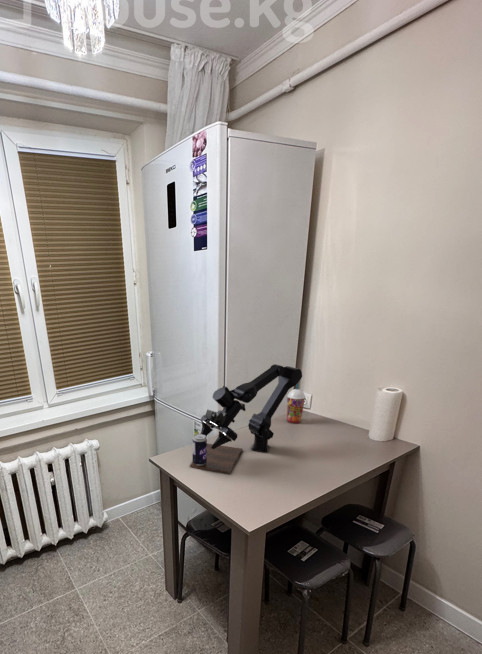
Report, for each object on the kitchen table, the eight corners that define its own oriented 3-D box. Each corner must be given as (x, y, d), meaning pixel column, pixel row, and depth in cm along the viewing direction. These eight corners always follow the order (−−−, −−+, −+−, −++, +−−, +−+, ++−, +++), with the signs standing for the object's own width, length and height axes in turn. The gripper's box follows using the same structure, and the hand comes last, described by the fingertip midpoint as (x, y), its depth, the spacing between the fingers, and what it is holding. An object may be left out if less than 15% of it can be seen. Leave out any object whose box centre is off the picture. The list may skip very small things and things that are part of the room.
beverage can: (200, 468, 142) (200, 440, 137) (189, 463, 146) (189, 436, 142) (209, 463, 145) (209, 436, 141) (199, 458, 149) (199, 432, 145)
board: (206, 445, 163) (206, 443, 163) (241, 450, 156) (242, 448, 156) (190, 466, 145) (190, 464, 145) (229, 474, 138) (229, 472, 138)
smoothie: (286, 424, 181) (290, 386, 174) (283, 418, 189) (287, 381, 182) (304, 424, 180) (308, 386, 173) (300, 418, 188) (304, 381, 180)
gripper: (204, 396, 148) (181, 426, 148) (232, 409, 132) (206, 443, 132) (219, 410, 153) (197, 439, 153) (248, 424, 137) (223, 457, 137)
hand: (205, 444), depth 144 cm, fingers open, 9 cm apart
